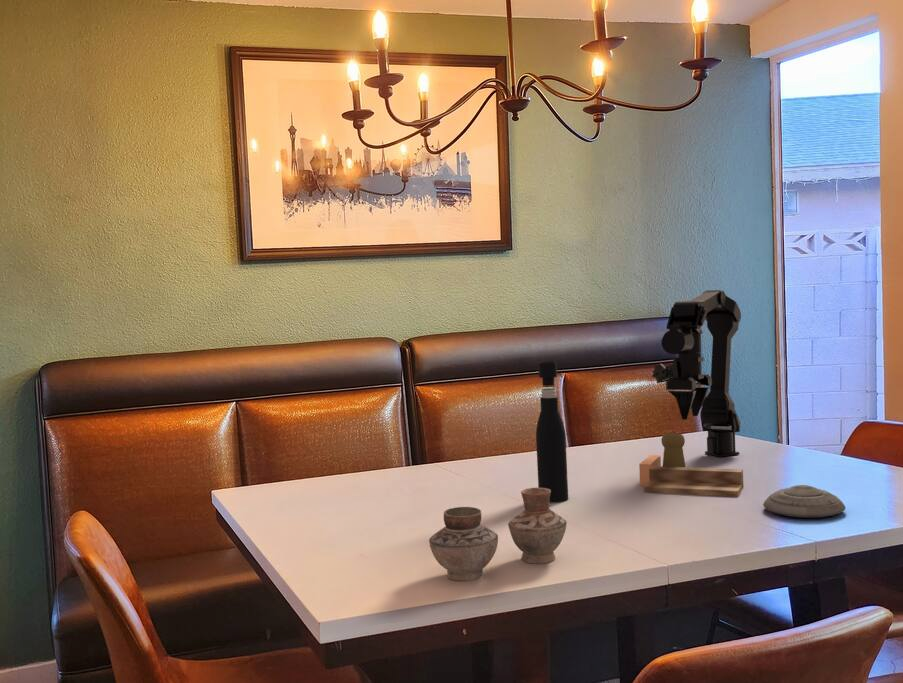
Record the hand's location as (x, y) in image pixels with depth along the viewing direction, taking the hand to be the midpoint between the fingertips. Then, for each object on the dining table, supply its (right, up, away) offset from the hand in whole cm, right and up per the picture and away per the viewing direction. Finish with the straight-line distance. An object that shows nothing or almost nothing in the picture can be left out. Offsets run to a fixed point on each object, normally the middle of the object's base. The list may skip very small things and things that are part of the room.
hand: (690, 417), depth 219 cm
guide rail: (-4, -14, -15) cm, 21 cm away
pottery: (-49, -20, -68) cm, 86 cm away
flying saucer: (+11, -15, -42) cm, 46 cm away
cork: (-6, -14, -9) cm, 18 cm away
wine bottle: (-35, -16, -21) cm, 44 cm away
